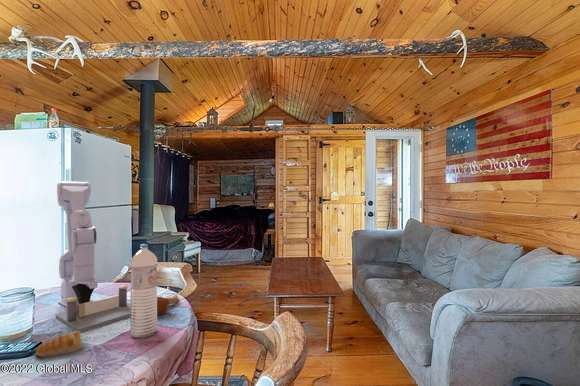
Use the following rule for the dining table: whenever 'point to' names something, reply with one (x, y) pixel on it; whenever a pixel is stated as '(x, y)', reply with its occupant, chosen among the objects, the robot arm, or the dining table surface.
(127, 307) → the gate frame
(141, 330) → the water bottle
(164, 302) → the smoking pipe
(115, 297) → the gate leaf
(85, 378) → the dining table surface
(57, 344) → the pastry
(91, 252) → the robot arm
